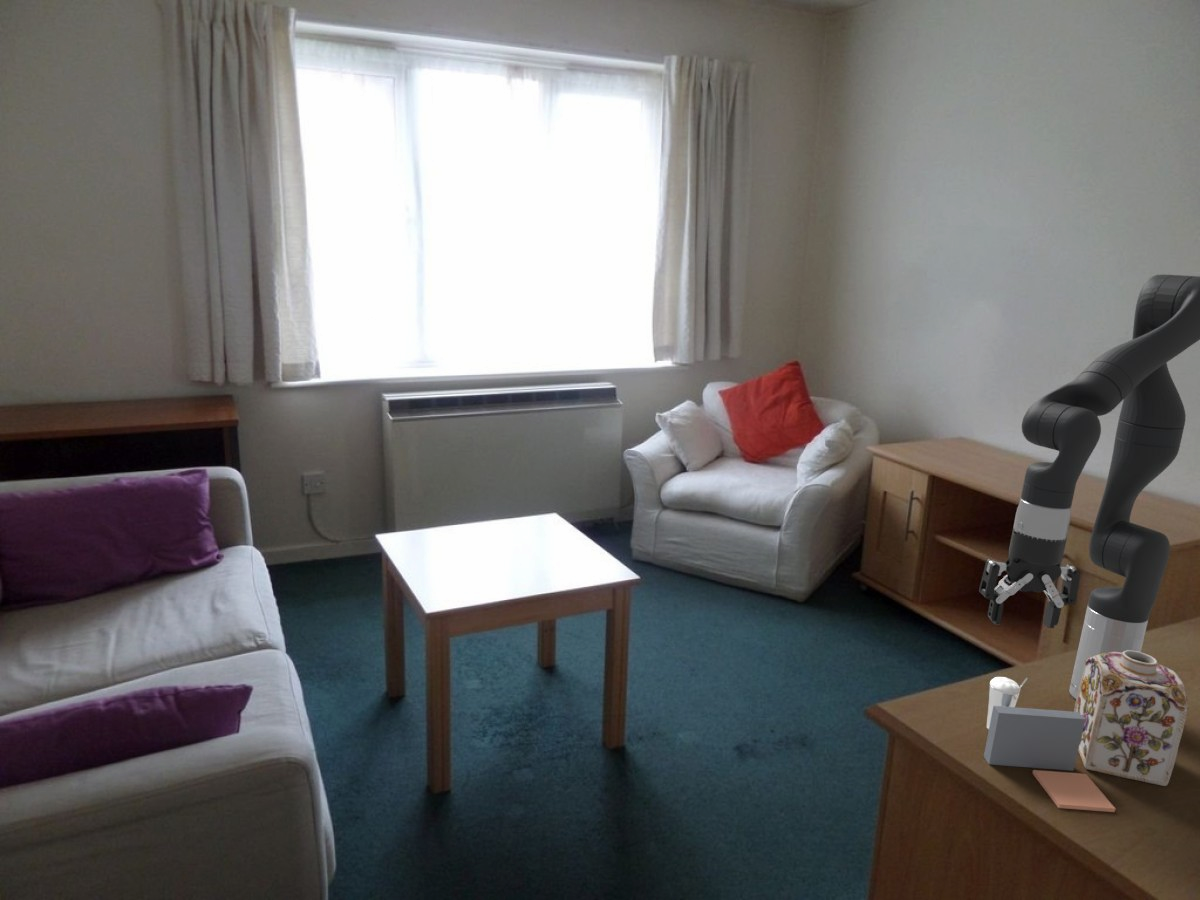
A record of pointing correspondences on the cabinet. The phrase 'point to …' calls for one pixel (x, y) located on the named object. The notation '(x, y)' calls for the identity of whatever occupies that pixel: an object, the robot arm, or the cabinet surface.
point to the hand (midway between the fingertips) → (1021, 624)
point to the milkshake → (1002, 694)
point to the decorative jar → (1131, 716)
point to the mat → (1073, 791)
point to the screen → (1034, 738)
